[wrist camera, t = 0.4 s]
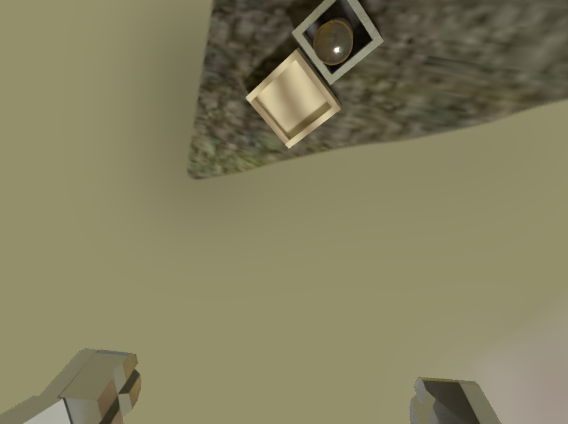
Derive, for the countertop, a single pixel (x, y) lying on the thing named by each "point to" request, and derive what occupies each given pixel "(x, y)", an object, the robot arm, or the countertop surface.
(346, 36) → the dome-topped grey cylinder
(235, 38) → the countertop surface
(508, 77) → the countertop surface
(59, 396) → the robot arm
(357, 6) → the socket
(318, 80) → the tray
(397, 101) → the countertop surface
